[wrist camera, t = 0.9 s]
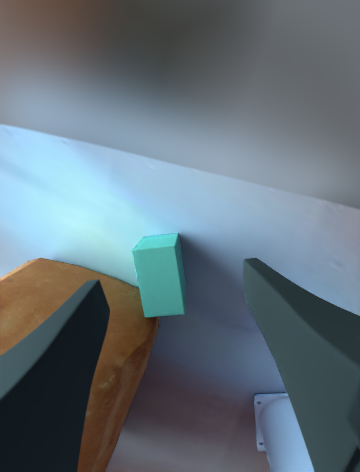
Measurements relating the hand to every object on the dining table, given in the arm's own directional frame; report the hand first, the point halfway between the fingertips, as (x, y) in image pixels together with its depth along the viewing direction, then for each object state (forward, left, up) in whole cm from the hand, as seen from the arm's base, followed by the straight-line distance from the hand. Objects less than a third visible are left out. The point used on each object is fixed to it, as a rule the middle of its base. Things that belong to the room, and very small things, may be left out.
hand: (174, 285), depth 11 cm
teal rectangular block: (-4, +3, -14) cm, 15 cm away
